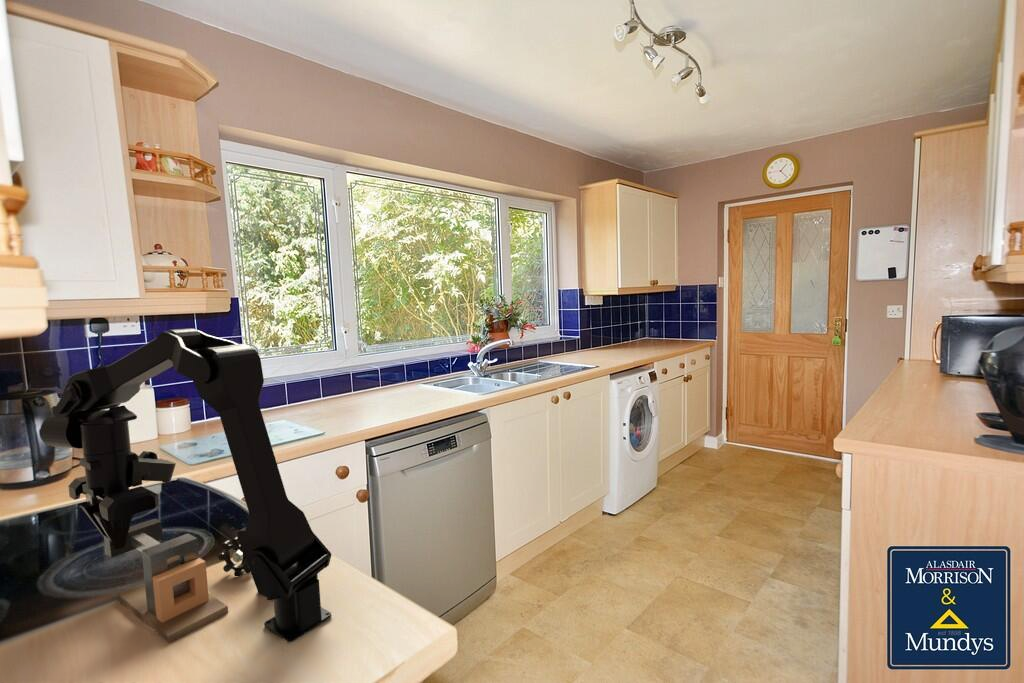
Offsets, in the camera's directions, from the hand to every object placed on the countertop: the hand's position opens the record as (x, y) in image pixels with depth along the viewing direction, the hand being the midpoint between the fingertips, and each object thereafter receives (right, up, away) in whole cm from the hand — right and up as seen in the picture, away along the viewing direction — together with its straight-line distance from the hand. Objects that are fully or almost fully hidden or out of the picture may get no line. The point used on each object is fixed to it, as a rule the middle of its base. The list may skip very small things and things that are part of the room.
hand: (117, 545), depth 78 cm
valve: (+18, -6, +9) cm, 21 cm away
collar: (+15, -6, -7) cm, 18 cm away
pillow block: (+13, -7, -5) cm, 16 cm away
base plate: (+12, -7, -5) cm, 15 cm away
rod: (+7, -1, -2) cm, 7 cm away
